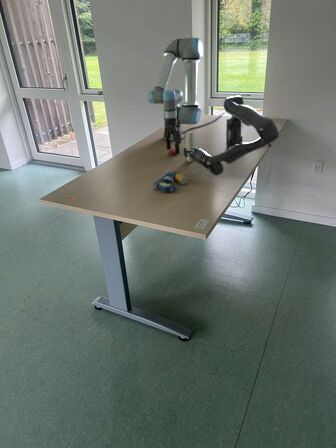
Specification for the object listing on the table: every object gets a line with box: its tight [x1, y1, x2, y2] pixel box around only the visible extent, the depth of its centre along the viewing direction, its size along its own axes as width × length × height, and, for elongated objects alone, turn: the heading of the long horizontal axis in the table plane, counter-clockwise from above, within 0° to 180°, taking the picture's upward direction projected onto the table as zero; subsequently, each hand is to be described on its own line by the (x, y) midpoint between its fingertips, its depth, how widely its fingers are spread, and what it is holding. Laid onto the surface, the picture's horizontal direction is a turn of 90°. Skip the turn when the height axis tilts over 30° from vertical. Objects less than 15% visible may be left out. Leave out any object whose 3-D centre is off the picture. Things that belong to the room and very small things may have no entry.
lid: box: [168, 149, 178, 157], centre depth 218 cm, size 5×6×2 cm
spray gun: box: [152, 170, 188, 193], centre depth 177 cm, size 21×4×15 cm
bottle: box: [185, 130, 195, 163], centre depth 202 cm, size 5×5×18 cm
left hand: (173, 151), depth 218 cm, fingers open, 11 cm apart
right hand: (188, 148), depth 205 cm, fingers closed on bottle, 4 cm apart
